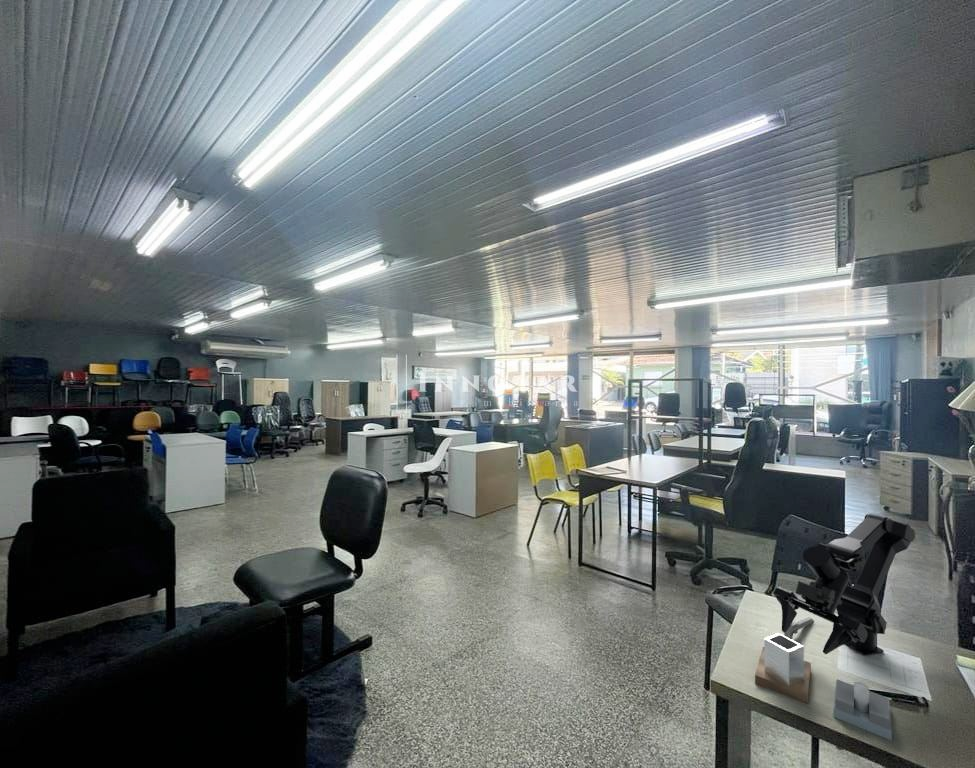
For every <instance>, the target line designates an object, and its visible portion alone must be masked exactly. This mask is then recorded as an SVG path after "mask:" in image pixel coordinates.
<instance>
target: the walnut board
mask: <svg viewBox="0 0 975 768" xmlns="http://www.w3.org/2000/svg"><path fill="white" fill-rule="evenodd" d="M811 664H812V663H811V662H809V661H807V660H804V680H802V681H800V682H798V683H796V684H794V685H792V686H790V687H789V686H787V685H785V684H784V683H782V682H781V681H779V680H777V679H776V678H774V677H773V676H771V675H769V674H768V673H766V672H765V670H764V646H762V650H761V653H760V657H759V660H758V663H757V666H756V671H755V674H754V684H756V685H759V686H760V687H764V688H766V689H769V690H770V691H774V692H776V693H779V694H782V695H784V696H786V697H789V698H791V699H794V700H797V701H800V702H803V703H805V704H808V703H809V701H808V700H809V692H810V681H811V671H812V670H811V669H812V665H811Z"/></svg>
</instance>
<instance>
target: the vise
mask: <svg viewBox="0 0 975 768" xmlns="http://www.w3.org/2000/svg"><path fill="white" fill-rule="evenodd" d="M834 686H835V687H834V696H833V698H834V699H833V709H832V710H833V718H835V719H838V720H840V721H843V722H845V723H847V724H850V725H853V726H855V727H858V728H860V729H862V730H865V731H868V732H870V733H872V734H875V735H877V736H880V737H881V738H884V739H887V740H889V741H893V739H892V737H893V736H892V735H893V734H892V733H893V732H892V719H891V706H890V699H889V698H888V696H884V695H882V694H878V693H876V692H874V691H871V690H870V687H869V686H868V685H867V684H865V683H863V682H860V681H854V682H853V684H851V683H849V682H846V681H843V680H840V679H836V680H835V685H834Z"/></svg>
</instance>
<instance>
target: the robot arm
mask: <svg viewBox="0 0 975 768" xmlns="http://www.w3.org/2000/svg"><path fill="white" fill-rule="evenodd" d="M915 539H916V532H915V529H914V528H911V525H910V524H909V523H905V522H901V521H896V520H893V519H892V518H889V517H888V516H883V515H880V514H874V513H867V514H865V516H864V519H863V520H862V521H861V522H860V523H859V524H858V525H857V526H856V527H855V528H854V529H853V530H852V531H850V533H849V534H847V535H846V537H842V538H835V539H833V540H831V541H830V542H828V543H827V544H824V543H821V542H818V543H817V545H815V546H810V547H808V548H806V549H804V551H803V553H802V558H803V560H804V562H805V563H806V564H807V566H808V567H809V568H810V570H811V571H812V572H813V574H814V575H816V576H817V577H816V578H815V581H813V580H812V581H810V582H809V584H808V583H805V582H803V581H800V580H798V582H797V584H796V585H797V586H796V589H795V593H794V592H793V591H792V590H789V589H787V588H784V587H783V586H781V585H780V586H777V587H775V588H774V589H773V592H772V595H773V596H774V597H775V598H776V600H777V602H778V603H779V605H780V606H781V614H782V615H781V631H782V632H783V634H784V633H785V632H786V631H787V630H788V629H789V627H790V625H791V623H792V622H794V620H795V618H796V616H797V614H798V612H797V611H796V610H799V609H802V610H804V611H806V612H808V613H810V614H812V615H815V616H817V617H819V618H821V619H823V620H826V621H828V622H831V623H833V625H832V631H831V633H830V635H829V636H828V638H827V640H826V643H825V644H824V646H823V649H822V653H823V654H824V655H828V654H829V653H831V652H833V651H835V650H836V649H837V648H839V647H841V646H843V645H846V646H848V647H850V648H851V649H853V650H855V651H857V652H858V653H860V654H862V655H863V656H872V655H876V654H882V653H884V649H882V648H881V647H879V646H878V635H879V634H880V635H885V634H886V629H887V621H886V620H885V618H884V616H882V614H881V606H880V602H879V600H878V596H879V593H880V591H881V589H882V587H883V584H884V582H885V579H886V578H887V575H888V573H889V571H890V569H891V566H892V563H893V561H894V559H895V557H896V555H897V554H898V553H901V552H903V551H905V550H908V549H909V547H910V545H911V544H912V542H914V540H915ZM869 550H870V551H869ZM868 551H869V554H868V555H867V558H865V554H866V553H867V552H868ZM845 570H846V571H847V570H848V571H851V572H854V573H857V572H859V571H860V570H861V571H860V573H859V575H858V577H857V580H856V582H855V584H853V585H852V579H851V577H850V575H849V573H848V572H846V571H845ZM796 595H798V596H800V597H801V598H802V600H801V599H799V598H798V596H796ZM803 600H804V601H803ZM836 612H837V615H836V614H835V613H836Z"/></svg>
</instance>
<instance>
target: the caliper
mask: <svg viewBox="0 0 975 768" xmlns="http://www.w3.org/2000/svg"><path fill="white" fill-rule="evenodd" d="M813 622H815V620H814V619H813V618H812V617H809V616H807V617H805V618H803V619H800V620H798V621H796V622H795V621H793V622H792V623H791V625H790V627H789V629H788V630H787V631H786V632H785V633H784V632H783V635H784V636H786V637H788V638H790V639H791V640H794V639H793V637H794V634H795V635H796V634H798V633H799V632H798V631H799V630H800V629H803V628H805V627H808V626H809V625H811V624H812V623H813Z"/></svg>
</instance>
